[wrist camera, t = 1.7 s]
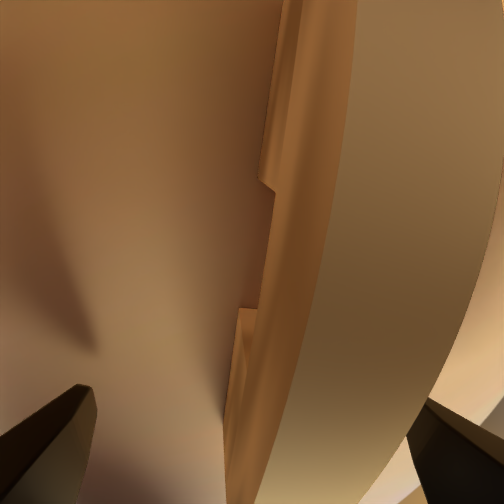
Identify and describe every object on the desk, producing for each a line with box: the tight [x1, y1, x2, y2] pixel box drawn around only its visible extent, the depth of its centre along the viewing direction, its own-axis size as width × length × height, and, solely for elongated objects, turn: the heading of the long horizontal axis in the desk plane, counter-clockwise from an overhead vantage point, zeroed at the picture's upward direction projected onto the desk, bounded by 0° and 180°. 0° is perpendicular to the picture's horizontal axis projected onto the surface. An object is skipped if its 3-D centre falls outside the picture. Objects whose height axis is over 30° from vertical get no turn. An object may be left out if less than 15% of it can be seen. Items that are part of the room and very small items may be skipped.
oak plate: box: [223, 0, 504, 504], centre depth 5 cm, size 12×2×5 cm, turn 172°
